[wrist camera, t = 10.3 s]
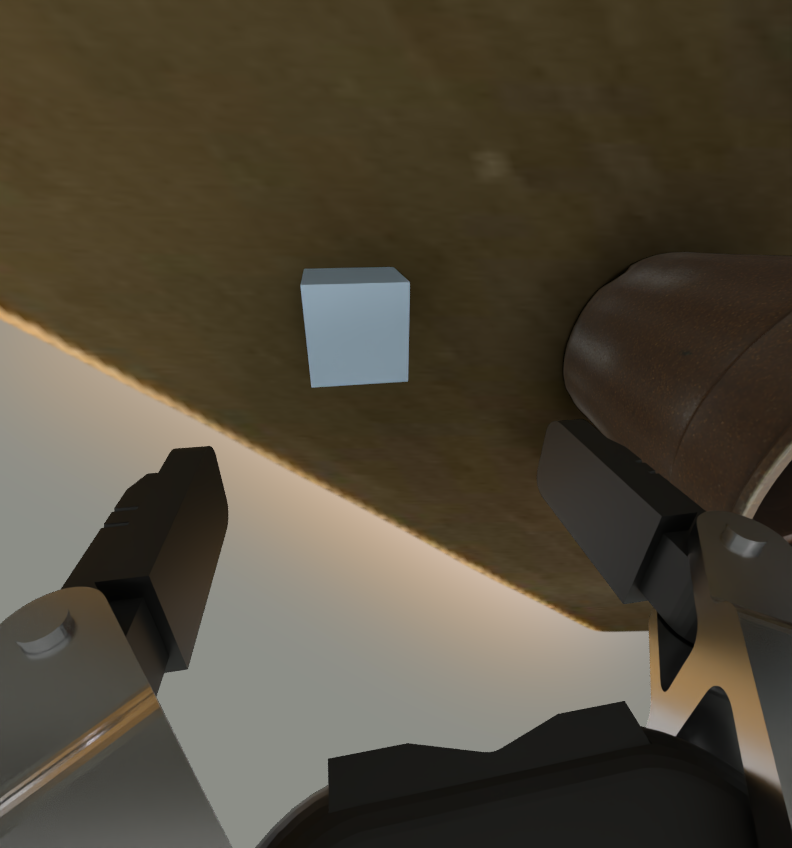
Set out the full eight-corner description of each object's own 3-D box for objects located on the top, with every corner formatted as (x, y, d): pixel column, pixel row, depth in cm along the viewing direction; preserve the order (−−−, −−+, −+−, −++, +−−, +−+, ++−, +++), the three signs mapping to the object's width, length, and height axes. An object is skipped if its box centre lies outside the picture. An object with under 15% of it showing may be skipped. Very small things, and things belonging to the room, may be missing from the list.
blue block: (393, 266, 23) (409, 282, 19) (393, 350, 25) (408, 381, 21) (304, 268, 22) (300, 285, 18) (312, 354, 25) (311, 387, 20)
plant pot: (517, 455, 31) (676, 661, 17) (547, 223, 23) (887, 259, 9) (704, 430, 33) (982, 597, 19) (791, 208, 25) (1371, 219, 11)
